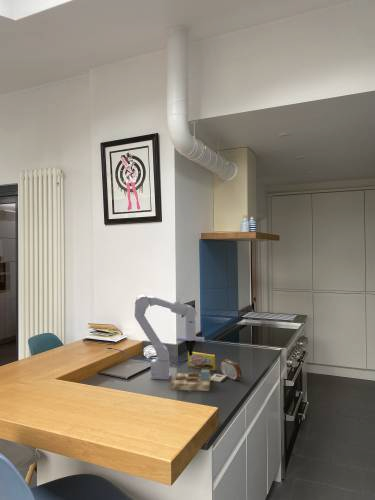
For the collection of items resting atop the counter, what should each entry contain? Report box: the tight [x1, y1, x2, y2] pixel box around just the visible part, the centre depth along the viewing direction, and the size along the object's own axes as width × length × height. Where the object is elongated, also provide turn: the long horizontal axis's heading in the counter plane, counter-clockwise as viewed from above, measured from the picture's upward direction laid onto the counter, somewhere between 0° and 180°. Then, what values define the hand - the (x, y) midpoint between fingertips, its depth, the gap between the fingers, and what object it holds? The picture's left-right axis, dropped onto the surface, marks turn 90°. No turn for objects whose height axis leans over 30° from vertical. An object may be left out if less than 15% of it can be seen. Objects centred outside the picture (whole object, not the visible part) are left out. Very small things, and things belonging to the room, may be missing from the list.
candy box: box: [187, 351, 216, 371], centre depth 207 cm, size 16×2×8 cm, turn 62°
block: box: [200, 368, 211, 381], centre depth 180 cm, size 4×4×4 cm
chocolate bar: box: [210, 368, 229, 384], centre depth 194 cm, size 9×1×18 cm
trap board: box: [170, 372, 212, 392], centre depth 181 cm, size 18×14×4 cm
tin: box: [220, 358, 243, 381], centre depth 191 cm, size 15×3×8 cm, turn 30°
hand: (190, 355), depth 195 cm, fingers closed
